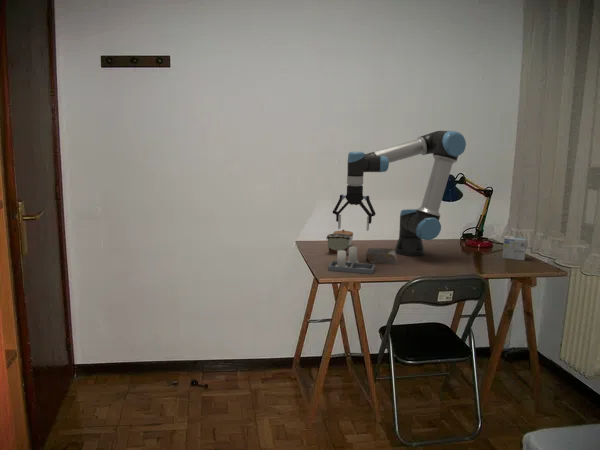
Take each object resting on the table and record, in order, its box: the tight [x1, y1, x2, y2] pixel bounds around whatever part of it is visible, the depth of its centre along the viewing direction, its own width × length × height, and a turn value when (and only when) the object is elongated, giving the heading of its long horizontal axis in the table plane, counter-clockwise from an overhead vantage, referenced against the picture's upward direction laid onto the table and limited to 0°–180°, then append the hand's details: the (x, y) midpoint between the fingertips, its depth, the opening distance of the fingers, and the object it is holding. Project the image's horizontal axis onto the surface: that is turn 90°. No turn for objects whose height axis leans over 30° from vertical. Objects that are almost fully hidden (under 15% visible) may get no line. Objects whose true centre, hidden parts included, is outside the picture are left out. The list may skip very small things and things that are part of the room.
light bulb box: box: [501, 235, 527, 261], centre depth 258 cm, size 11×7×11 cm, turn 65°
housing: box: [327, 250, 376, 275], centre depth 234 cm, size 20×10×8 cm, turn 76°
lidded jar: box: [332, 229, 354, 247], centre depth 277 cm, size 11×11×9 cm
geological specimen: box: [366, 248, 399, 265], centre depth 250 cm, size 11×6×15 cm
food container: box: [326, 233, 350, 256], centre depth 262 cm, size 12×6×10 cm, turn 84°
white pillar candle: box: [346, 245, 360, 263], centre depth 244 cm, size 6×6×8 cm
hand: (353, 229), depth 242 cm, fingers open, 13 cm apart
